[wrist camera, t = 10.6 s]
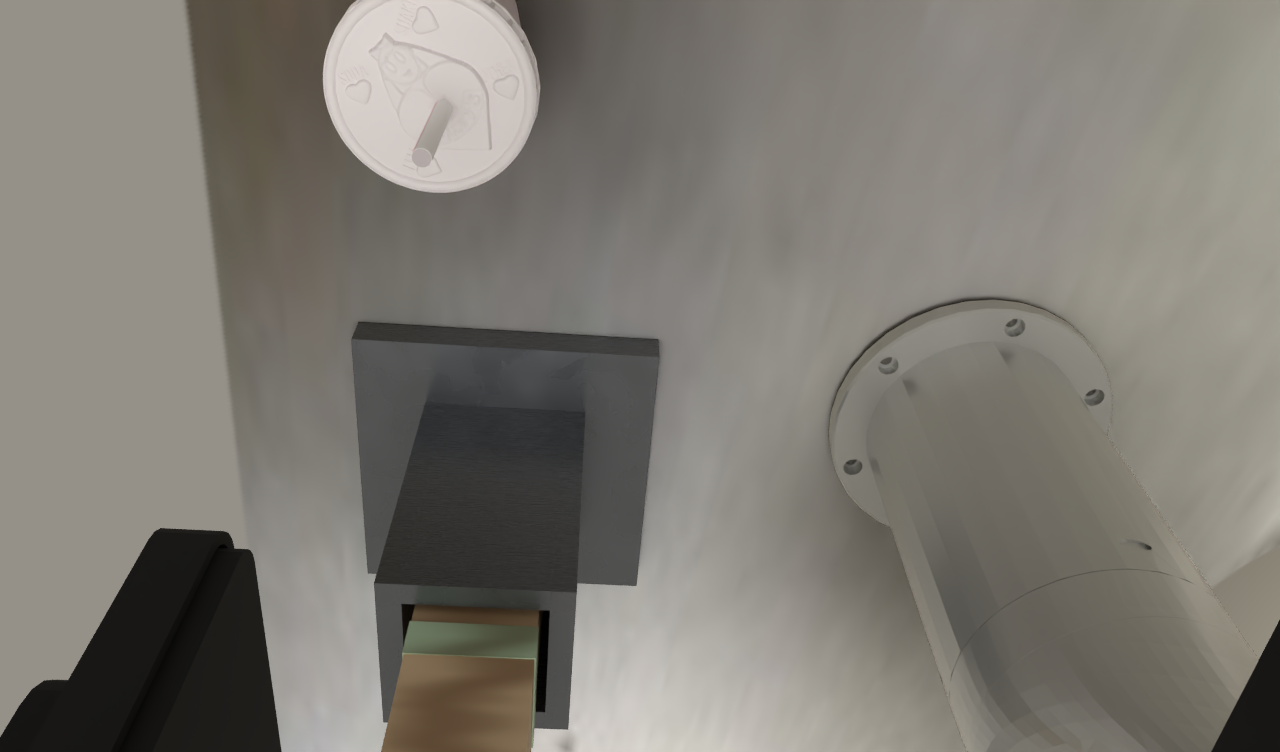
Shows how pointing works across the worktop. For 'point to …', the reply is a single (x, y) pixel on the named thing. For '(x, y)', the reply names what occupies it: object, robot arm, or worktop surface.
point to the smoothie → (432, 89)
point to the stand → (500, 478)
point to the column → (466, 681)
